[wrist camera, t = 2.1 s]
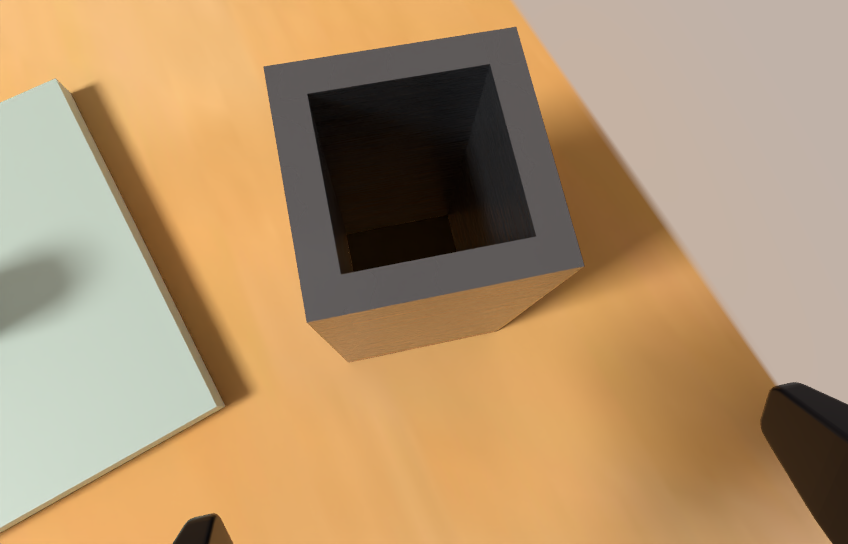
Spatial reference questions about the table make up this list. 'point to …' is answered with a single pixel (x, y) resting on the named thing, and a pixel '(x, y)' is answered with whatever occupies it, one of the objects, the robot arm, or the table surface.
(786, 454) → the robot arm
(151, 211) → the table surface
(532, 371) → the table surface
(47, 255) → the pin board
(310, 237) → the square open box
